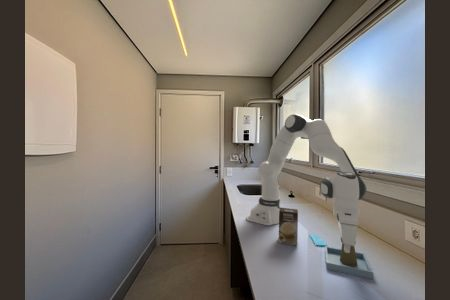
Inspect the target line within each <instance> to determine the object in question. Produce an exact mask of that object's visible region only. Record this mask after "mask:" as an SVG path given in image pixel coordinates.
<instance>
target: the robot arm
mask: <svg viewBox="0 0 450 300" xmlns="http://www.w3.org/2000/svg"><path fill="white" fill-rule="evenodd" d="M297 138H300V139H301V140H302V139H303V140H307V141H308V143H309V146H310V149H311V151H312V152H313V153H314V154H315V155H317V156H319V157H322V158H326V159H329V160H331V161H332V162H334V163H336V164H337V166H338V168H339V169H340V171H339V172H336V173H335V174H334V175H333V176H332V175H331V176H329V177H323V178H322V180H321V181H320V183H319V192H320V194H321V195H322V196H323V197H324V198H326V199H329V200H333V209H332V210H333V214H332V215H333V217H335V219H336V220H337V225H338V229H339V232H340V238H341V237H342V241H343V244H344V251H345V252H346V253H350V247H351V246H354V247H355V245H356V243H355V241H356V239H357V231H358V229H357V228H358V226H359V224H360V205H359V201H360V200H362V199H363V198H364V197H365V195H366V193H367V186H366V183H365V182H364V180H363V179H362V178H361V177H360V175H359V174H358V172H357V170H356V169H355V167H354V165H353V163H352V161H351V159H350V158H349V155H348V154H347V152H346V150H345V149H344V148H343V147H341V146H339V144H338V143H337V142H336V141H335V139H334V138H333V134H332V132H331V129H330V127H329V126H328V124H327V122H326V121H325V120H324V119H320V118H317V119H314V120H312V119H310V118H308V117H304V116H303V115H301V114H298V113H292V114H290V115H288V117H286V119H285V121H284V125H283V126H282V127H281V129H280V130H279V131H278V133H277V135H276V136H275V139H274V142H273V143H272V145H271V147H270V148H269V149H270V151H269V155H268V157H267V160H264V161H263V162H261V163H260V165H259V166H258V169H257V173H258V174H259V177H260V178H259V179H260V183H261V196H260V197H259V198H258V203H257V204H256V205H254V206H253V207H252V208H251V210H250V212H249V214H248V215H247V216H246V220H247V221H248V222H252V223H255V224H260V225H264V226H271V225H277V224H278V225H279V209H280V207H281V198H280V185H279V180H278V179H279V178H278V175H280V173H281V171H282V170H283V167H284V164H285V163H286V160H287V157H288V155H289V153H290V151H291V149H292V147H293V145H294V143H295V141H296V140H297ZM356 242H357V241H356Z"/></svg>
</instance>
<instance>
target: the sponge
mask: <svg viewBox="0 0 450 300" xmlns="http://www.w3.org/2000/svg"><path fill="white" fill-rule="evenodd" d="M309 239H310V240H311V241H312V243H313V244H314V245H315V247H321V248H322V247H324V248H325V246H328V244H326V242H324V240H323V239H322V238H321V237H320V236H319V235H317V234H310V233H309Z"/></svg>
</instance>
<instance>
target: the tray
mask: <svg viewBox="0 0 450 300" xmlns="http://www.w3.org/2000/svg"><path fill="white" fill-rule="evenodd" d="M341 249H342V248H337V247H334V246H333V247H332V246H328V245H327V246H325V247H324V257H325V258H324V259H325V268H326V270H331V271H334V272H340V273H344V274H348V275H353V276H357V277H361V278H365V279H371V280H374V271H373V268H372V267H371V265H370V263H369V260H368V258H367V256H366V253H365V252H360V251H355V253H356V259H357V266H354V267H351V266H346V265H344V264H343V263H341V261H340V255H341Z"/></svg>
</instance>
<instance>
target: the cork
mask: <svg viewBox="0 0 450 300" xmlns="http://www.w3.org/2000/svg"><path fill="white" fill-rule="evenodd" d="M340 242H341V248H340V249H341V255H340V261H341V263H343V264H344V265H346V266H351V267H354V266H357V259H356V253H355V252H356V248H355V245H354V246H351V247H350V253H346V252H345V251H344V244H343V241H342V237H341V236H340ZM356 242H357V241H355V244H357V243H356Z"/></svg>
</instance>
